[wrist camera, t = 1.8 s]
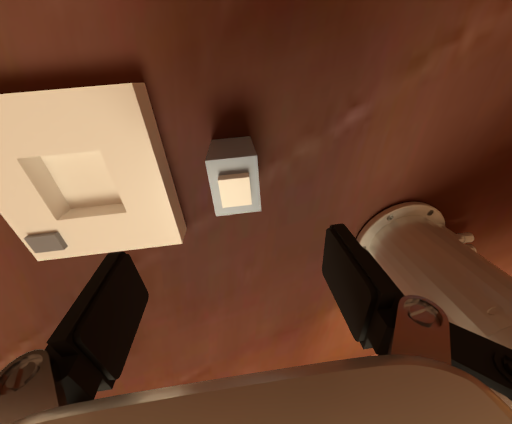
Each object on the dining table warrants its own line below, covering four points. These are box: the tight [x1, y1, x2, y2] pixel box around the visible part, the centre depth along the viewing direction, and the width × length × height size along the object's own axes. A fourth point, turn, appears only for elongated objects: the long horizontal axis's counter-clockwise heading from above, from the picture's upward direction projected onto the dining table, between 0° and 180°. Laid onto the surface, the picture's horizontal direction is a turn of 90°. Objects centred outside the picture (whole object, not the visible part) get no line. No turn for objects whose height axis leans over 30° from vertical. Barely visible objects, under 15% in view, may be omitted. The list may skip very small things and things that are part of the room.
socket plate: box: [0, 83, 187, 261], centre depth 22 cm, size 16×16×4 cm
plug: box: [205, 136, 261, 216], centre depth 21 cm, size 4×5×8 cm
